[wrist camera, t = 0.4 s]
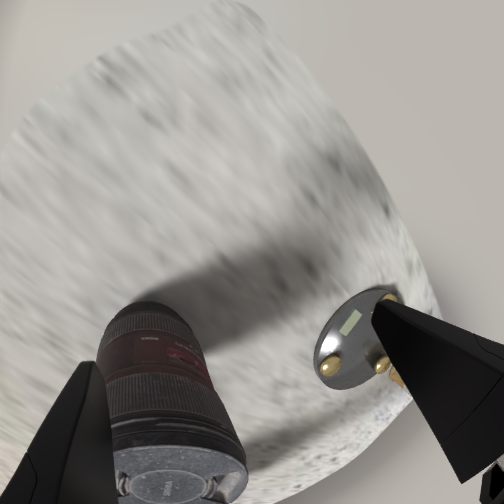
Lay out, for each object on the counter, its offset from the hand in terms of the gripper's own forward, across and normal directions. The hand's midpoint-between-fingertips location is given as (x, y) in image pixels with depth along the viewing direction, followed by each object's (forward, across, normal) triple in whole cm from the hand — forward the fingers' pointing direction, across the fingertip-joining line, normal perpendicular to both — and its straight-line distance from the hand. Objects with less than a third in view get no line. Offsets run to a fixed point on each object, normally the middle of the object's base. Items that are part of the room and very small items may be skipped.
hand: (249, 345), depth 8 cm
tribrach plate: (+12, -17, +18) cm, 28 cm away
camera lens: (+13, +5, +11) cm, 18 cm away
